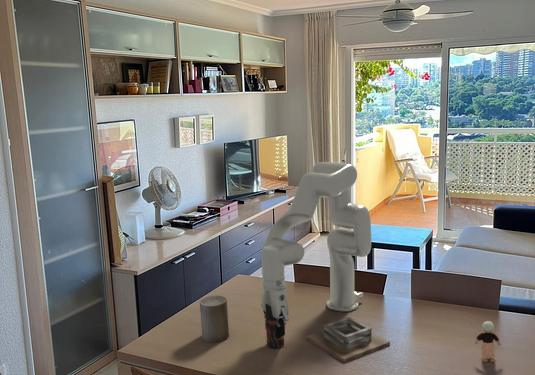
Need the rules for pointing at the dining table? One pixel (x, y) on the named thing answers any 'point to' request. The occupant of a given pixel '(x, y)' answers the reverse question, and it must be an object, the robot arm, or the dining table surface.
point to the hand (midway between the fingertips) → (275, 332)
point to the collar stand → (347, 339)
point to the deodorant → (272, 330)
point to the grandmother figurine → (488, 342)
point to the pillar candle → (214, 318)
